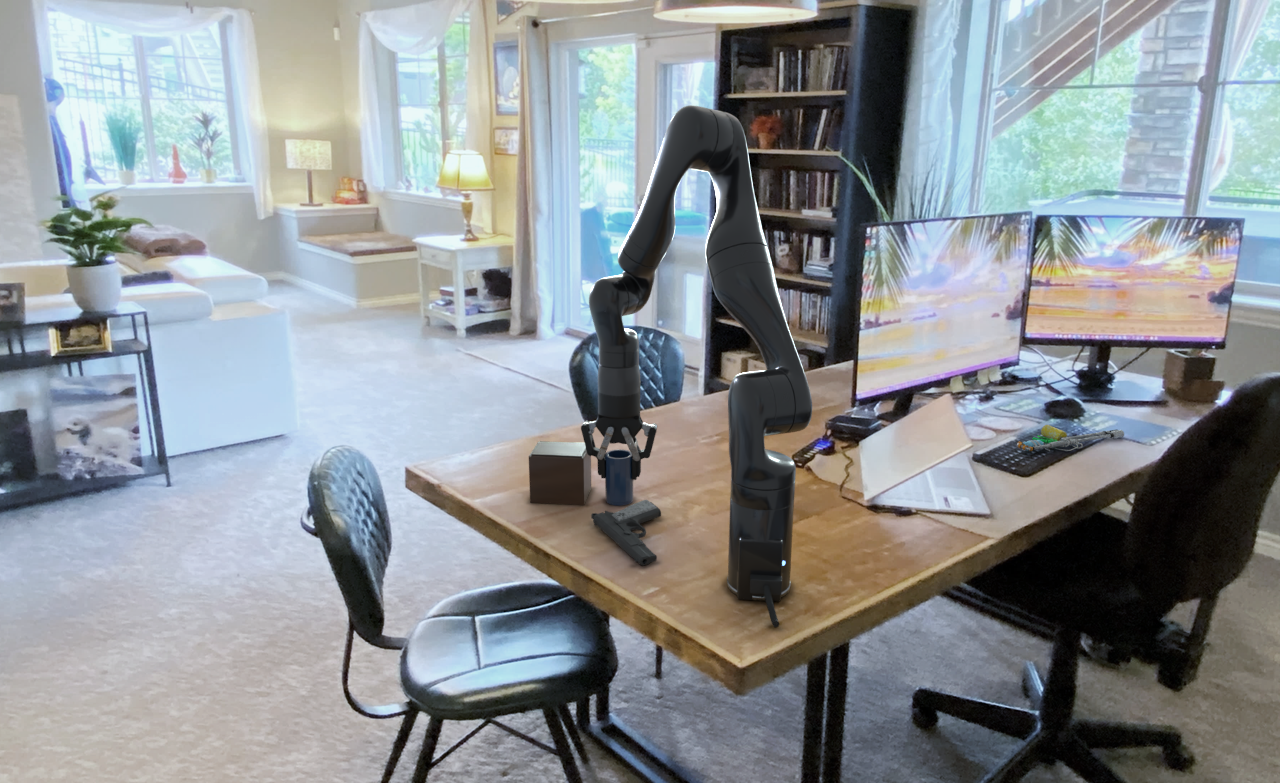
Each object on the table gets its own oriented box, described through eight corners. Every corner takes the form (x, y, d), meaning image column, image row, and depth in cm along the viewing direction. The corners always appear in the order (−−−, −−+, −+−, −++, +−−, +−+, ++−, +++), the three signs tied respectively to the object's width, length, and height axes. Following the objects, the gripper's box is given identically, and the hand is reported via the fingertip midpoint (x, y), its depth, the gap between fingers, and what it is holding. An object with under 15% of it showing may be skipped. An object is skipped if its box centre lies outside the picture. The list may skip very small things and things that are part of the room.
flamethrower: (998, 443, 198) (1035, 460, 190) (1000, 431, 198) (1037, 448, 189) (1093, 427, 211) (1131, 442, 202) (1095, 416, 210) (1134, 431, 201)
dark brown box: (584, 505, 167) (583, 457, 165) (530, 502, 168) (528, 454, 166) (591, 488, 175) (590, 442, 172) (539, 486, 176) (538, 440, 173)
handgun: (647, 509, 165) (586, 522, 160) (647, 497, 164) (586, 509, 159) (702, 554, 150) (637, 569, 144) (703, 541, 149) (637, 556, 143)
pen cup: (631, 506, 167) (631, 459, 164) (603, 505, 167) (603, 458, 165) (634, 495, 172) (634, 449, 169) (607, 494, 172) (607, 448, 170)
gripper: (575, 392, 161) (576, 483, 166) (657, 395, 159) (656, 487, 164) (582, 381, 168) (584, 468, 173) (661, 383, 166) (660, 471, 171)
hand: (619, 477), depth 168 cm, fingers closed on pen cup, 5 cm apart
